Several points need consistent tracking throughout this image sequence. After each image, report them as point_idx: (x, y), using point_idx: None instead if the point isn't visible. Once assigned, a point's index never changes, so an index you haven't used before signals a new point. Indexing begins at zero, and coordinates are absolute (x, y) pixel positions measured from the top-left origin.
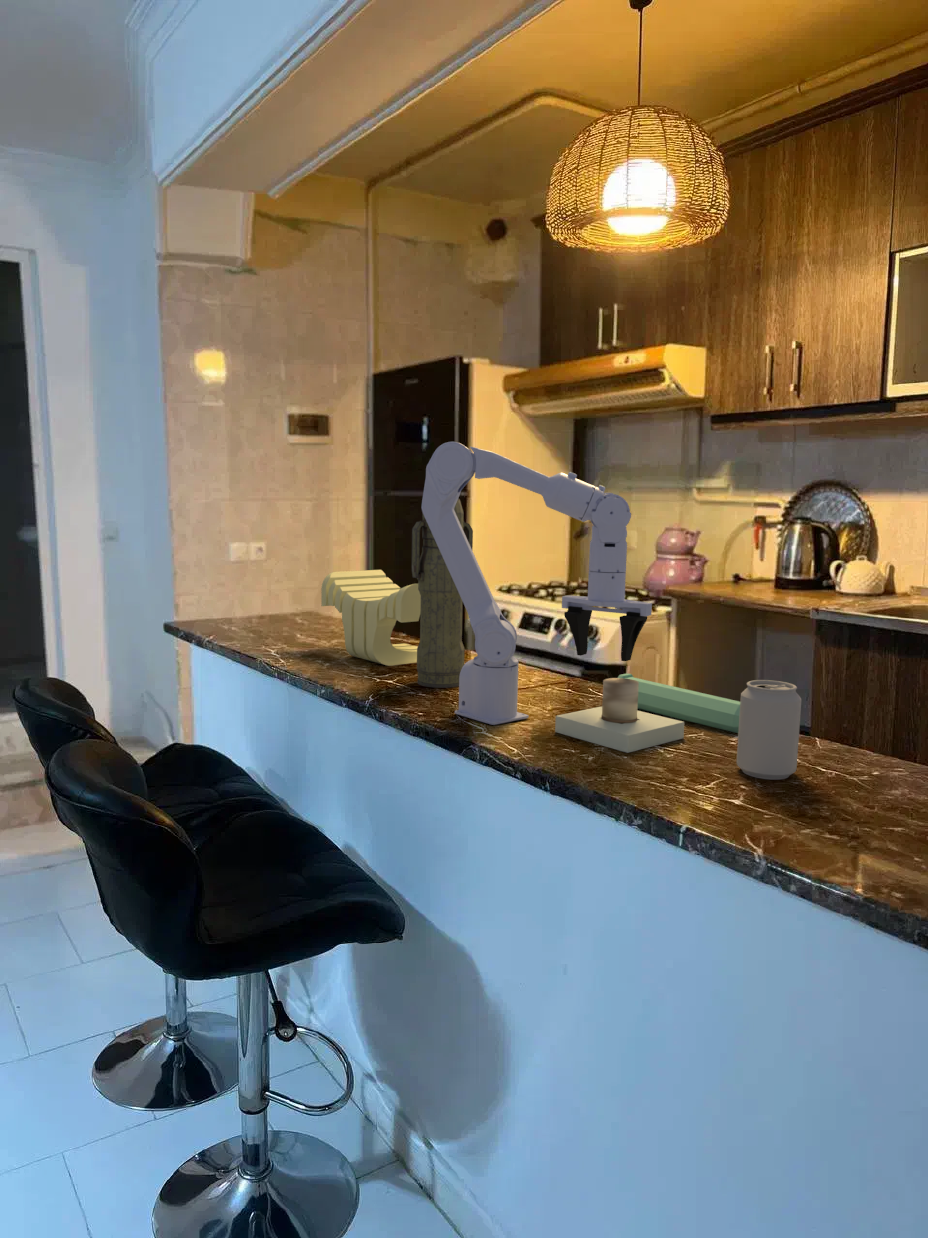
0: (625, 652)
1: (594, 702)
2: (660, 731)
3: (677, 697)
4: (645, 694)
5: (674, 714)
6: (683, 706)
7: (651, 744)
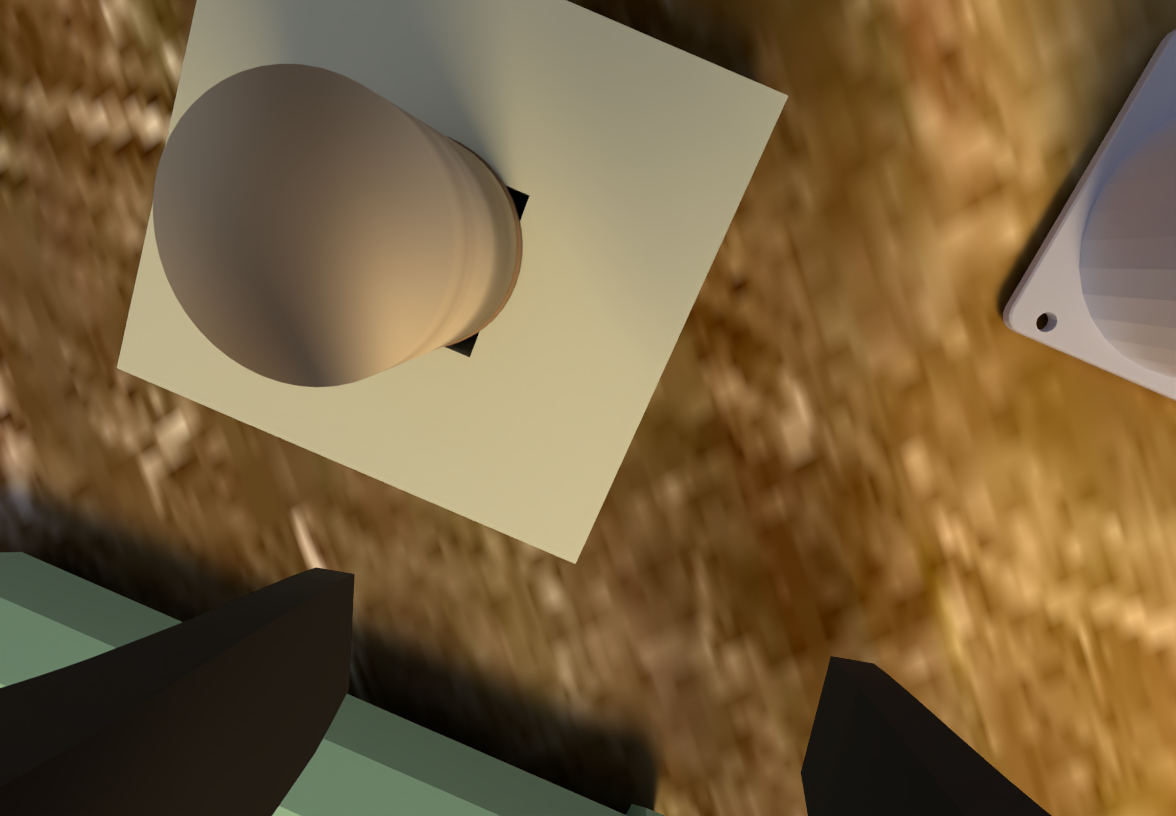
0: (245, 599)
1: (765, 812)
2: None
3: None
4: (464, 794)
5: None
6: None
7: None
